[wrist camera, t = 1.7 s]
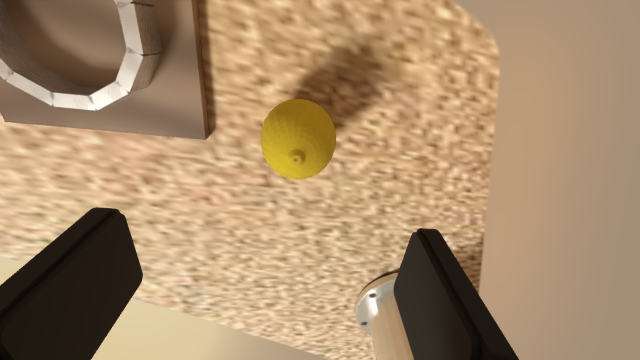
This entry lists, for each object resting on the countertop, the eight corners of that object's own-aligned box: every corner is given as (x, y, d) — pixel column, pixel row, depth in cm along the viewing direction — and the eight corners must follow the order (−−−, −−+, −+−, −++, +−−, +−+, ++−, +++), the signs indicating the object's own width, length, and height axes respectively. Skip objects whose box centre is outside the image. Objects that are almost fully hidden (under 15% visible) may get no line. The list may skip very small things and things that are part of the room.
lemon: (333, 90, 23) (343, 117, 15) (330, 152, 25) (337, 198, 18) (266, 89, 22) (245, 115, 15) (271, 151, 25) (254, 198, 18)
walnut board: (209, 135, 24) (205, 139, 23) (16, 118, 23) (4, 121, 22) (186, -114, 17) (178, -122, 16) (-104, -158, 15) (-129, -170, 15)
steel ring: (170, 107, 22) (154, 116, 20) (25, 93, 21) (-9, 100, 19) (142, -72, 17) (116, -87, 14) (-53, -99, 16) (-111, -120, 14)
